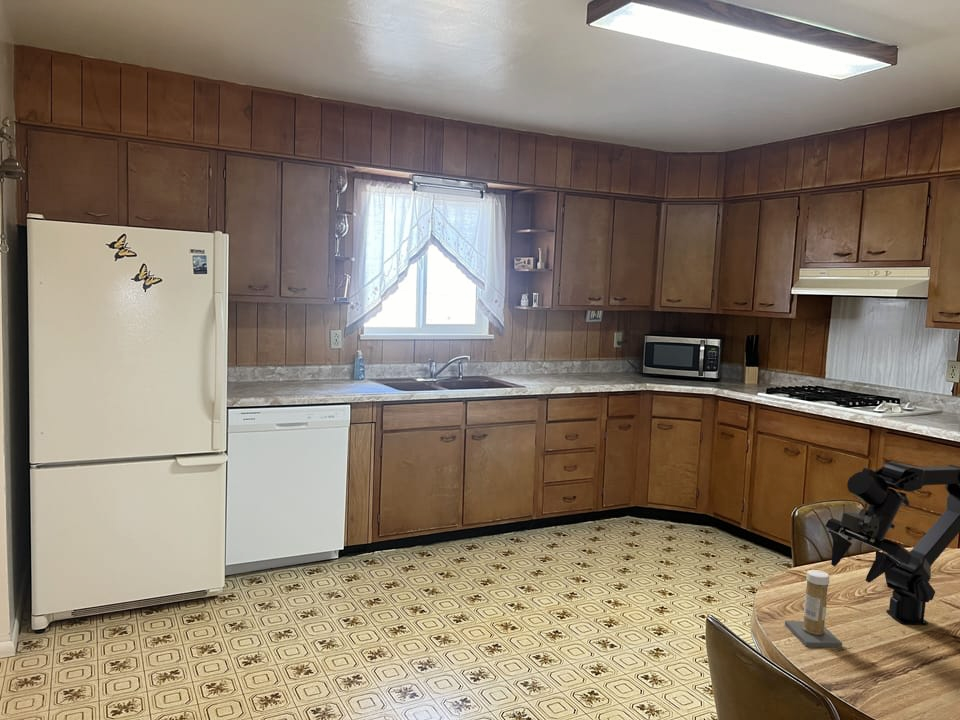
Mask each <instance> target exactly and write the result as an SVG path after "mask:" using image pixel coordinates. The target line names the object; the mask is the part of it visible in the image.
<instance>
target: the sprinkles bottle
mask: <svg viewBox="0 0 960 720" xmlns="http://www.w3.org/2000/svg"><path fill="white" fill-rule="evenodd" d="M805 579H806V586H805V597H804V598H805V599H804V607H803V608H804V610H803V621H804V622H803V627H802V628H803V630H804V631H806V632H807V633H810V634H813V635H821V634H823V633H824V627H825V620H826V613H827V612H826V611H827V599H828V597H827V596H828V587H829V584H830V575H829V574H828V573H827V572H825V571H823V570H817V569H810V570H807V572H806V578H805Z"/></svg>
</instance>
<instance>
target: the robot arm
mask: <svg viewBox="0 0 960 720" xmlns="http://www.w3.org/2000/svg"><path fill="white" fill-rule="evenodd" d="M846 484H847V485H846V487H847V490H848V492H849V493H850V494H852V495H854V496H855V497H857V498H858V499H860V500H861V501H863V502H864V503H865V504H866V505H867V507H866V509H865V508H861V510H860V511H859V512H858V513H855V512H848V511H847V512H846V511H843V512H842V515H841V520H838V519H836V518H833V517H831V518H829V519H828V520H827V521H826V523H825V525H824V528H826V529H827V533H828V534H830V536H831V538H832V554H831V563H830V564H831V566H833V567H834V568H835V567H836V566H837V565H838V564H839V563H840V562H841V560H842V559H843V558H844V556H845V554H846V553H847V551H848V550H849V549H850V547H851V546H852V544H853V543H851V542H850V541H852V540H856V541H858V542H861V543H863V544H865V545H868V546H869V547H870V546H871V547H873V548H875V558H874V561H873V563H872V564H871V566H870V569H869V570H868V572H867V575H866V577H865V582H867V583H869V584H870V583H871V582H873V581H874V580H876V579H877V578H879V577H881V576H882V575H883V574H884V577H885V582H886V587H887V589H891V590H892V594H891V596H890V599H889V606H888V607H889V608H888V609H886V613H887V614H889V615H890V616H891V617H892V618H894V619H895V620H896V621H897V622H899V623H901V624H902V625H926V626H927V625H929V622H928V621H927V619H925V612H926V603H930V601H933V600H934V596H935V595H936V591H935V589H934V588H933V586H932V585H931V583H930V580H931V579H932V571H931V568H932V565H933V564H934V563H935V562H936V560H938V558H939V557H940V555H941V554H942V553H943V552H944V551H945V549H947V547H948V546H949V545H950V544H951V543H952V541H954V539H955V538H956V537H957V536H958V534H960V466H958V465H955V464H947V465H928V466H927V465H926V466H914V465H909V464H905V463H901V462H897V461H892V460H891V461H887V462H885V463H884V465H883V466H882V467H879V468H877V469H876V470H873V469H871V468H868V467H863V468H862V471H858V472H856V473H854V474H853V475H852V476H850V477H849V479H848V480H847V483H846ZM936 485H942V486H943V485H945V486H944V489H945V490H946V492H947V493H948V495H947V497H946V509H945V511H944V512H942V514H941V515H940V516H939V518H937V520H936V521H935V522H934V524H933V525H932V526H931V527H930V528H929V529H928V530H927V531H926V532H925V534H924V535H923V536H922V537H921V539H920V540H919V541H918V542H917V543H916V544H915V546H914V547H913V548H912V549H910V551H909V550H908V549H906V548H905V547H903V546H902V545H901V544H899V543H896V542H894V541H891V540H888V539H885V538H886V536H887V535H888V531H889V529H891V530H894V528H895V527H896V526H895V524H893V522H894V520H895V518H896V516H897V514H898V512H899V510H900V508H901V506H902V505H904V506H906V507H908V506H910V501H909V500H908V496H907V493H912V492H915V491H919V490H920V491H921V489H922V488H923V487H924V486H936ZM896 490H898V491H896ZM902 491H905V492H907V493H904V492H902ZM879 550H880V551H879Z"/></svg>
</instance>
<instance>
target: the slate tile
mask: <svg viewBox="0 0 960 720" xmlns="http://www.w3.org/2000/svg"><path fill="white" fill-rule="evenodd" d="M803 622H804V620H784V626H785V627H786V628H787V629H788V630H789V631H790V632H791V633H792V634H793V635H794V637H796V638H797V639H798V641H800V642H801V644H803V646H804V647H805V648H806V647H807V648H809V647H810V648H843V642H842V641H841V640H840V639H839V638H837V637H836V636H835V635H834V634H833V633H832V632H831V631H830V630H829V629H828V628H827V627H826V626H824V633H823V634H821V635H813V634H810V633H807V632H806V631H804V630H803V628H802V627H803Z"/></svg>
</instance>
